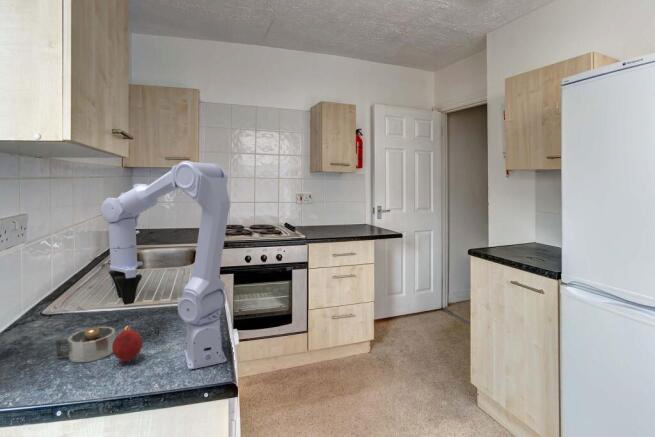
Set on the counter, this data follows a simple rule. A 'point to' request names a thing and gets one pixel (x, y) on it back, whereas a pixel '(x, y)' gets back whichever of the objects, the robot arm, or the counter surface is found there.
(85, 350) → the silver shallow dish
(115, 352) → the onion
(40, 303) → the counter surface
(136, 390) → the counter surface
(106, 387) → the counter surface
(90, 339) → the plunger
